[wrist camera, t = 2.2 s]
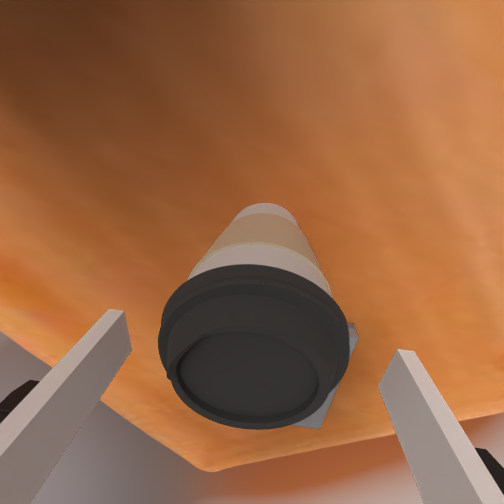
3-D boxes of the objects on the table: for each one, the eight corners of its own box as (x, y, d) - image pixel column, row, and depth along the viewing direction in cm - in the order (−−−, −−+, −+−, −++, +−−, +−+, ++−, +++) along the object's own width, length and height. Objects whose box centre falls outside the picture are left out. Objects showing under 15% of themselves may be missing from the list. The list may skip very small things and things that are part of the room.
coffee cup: (333, 225, 21) (425, 384, 8) (276, 291, 25) (277, 471, 12) (247, 169, 20) (190, 255, 7) (201, 249, 24) (108, 403, 11)
